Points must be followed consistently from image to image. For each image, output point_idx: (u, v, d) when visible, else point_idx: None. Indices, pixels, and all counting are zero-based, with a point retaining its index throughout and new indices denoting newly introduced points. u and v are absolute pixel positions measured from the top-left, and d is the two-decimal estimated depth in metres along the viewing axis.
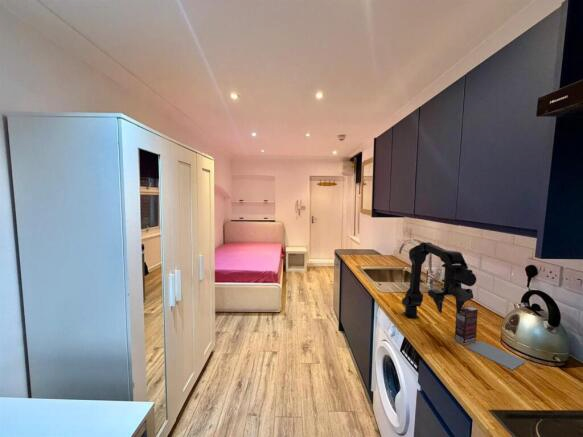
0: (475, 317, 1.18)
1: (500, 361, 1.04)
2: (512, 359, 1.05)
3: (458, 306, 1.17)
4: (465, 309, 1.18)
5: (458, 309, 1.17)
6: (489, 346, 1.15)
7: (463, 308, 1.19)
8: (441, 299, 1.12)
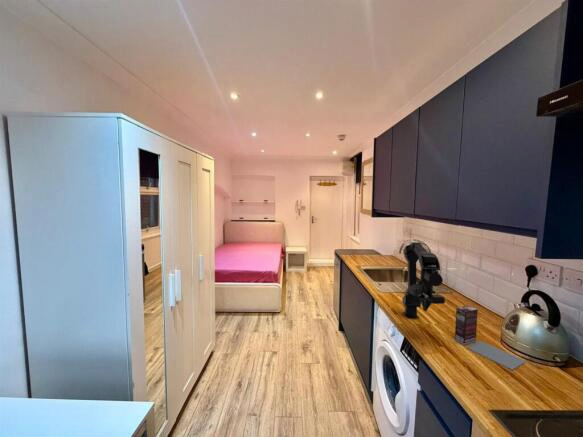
0: (475, 317, 1.18)
1: (500, 361, 1.04)
2: (512, 359, 1.05)
3: None
4: (465, 309, 1.18)
5: None
6: (489, 346, 1.15)
7: (463, 308, 1.19)
8: None
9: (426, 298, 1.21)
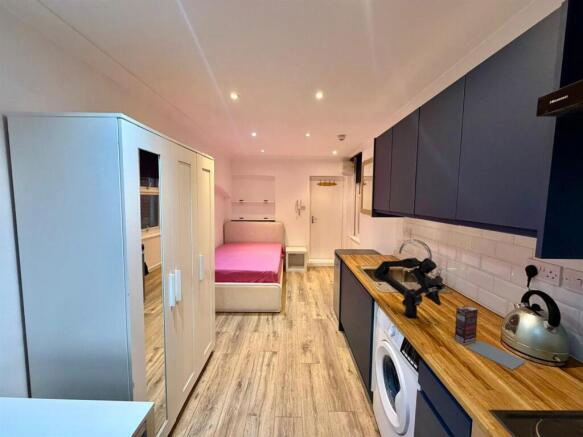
0: (475, 317, 1.18)
1: (500, 361, 1.04)
2: (512, 359, 1.05)
3: None
4: (465, 309, 1.18)
5: None
6: (489, 346, 1.15)
7: (463, 308, 1.19)
8: (427, 291, 1.29)
9: (436, 290, 1.35)
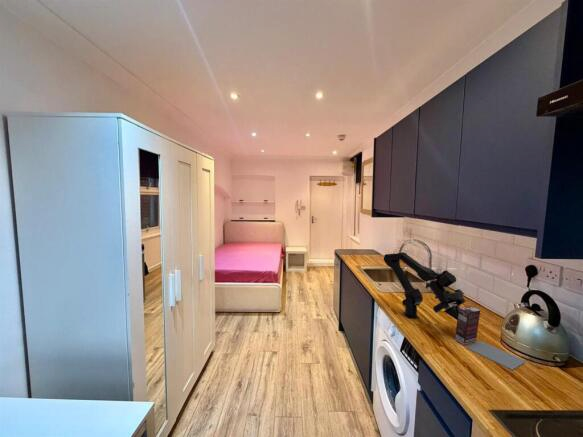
0: (477, 318, 1.17)
1: (500, 361, 1.04)
2: (512, 359, 1.05)
3: None
4: (467, 310, 1.16)
5: None
6: (489, 346, 1.15)
7: (466, 309, 1.18)
8: (447, 306, 1.20)
9: (456, 305, 1.26)
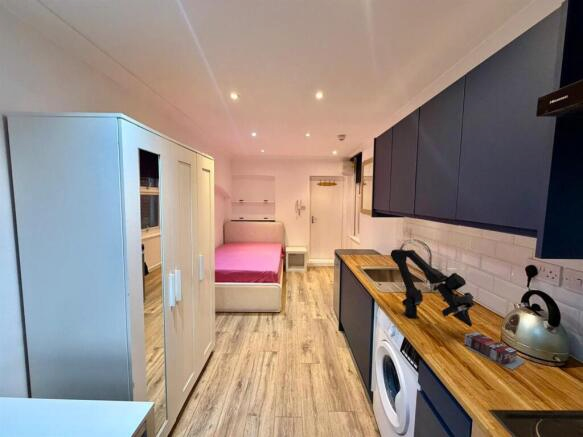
0: None
1: None
2: None
3: None
4: (506, 360, 1.02)
5: None
6: None
7: (507, 357, 1.02)
8: (456, 310, 1.17)
9: (465, 309, 1.22)
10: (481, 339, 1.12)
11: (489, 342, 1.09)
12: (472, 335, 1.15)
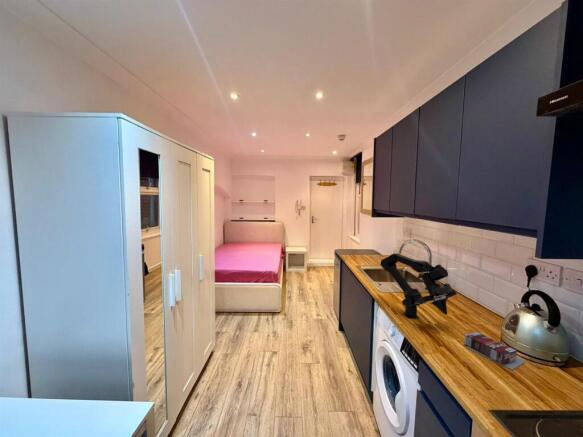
0: None
1: None
2: None
3: None
4: (506, 360, 1.02)
5: None
6: None
7: (507, 357, 1.02)
8: (430, 300, 1.26)
9: None
10: (481, 339, 1.12)
11: (489, 342, 1.09)
12: (472, 335, 1.15)
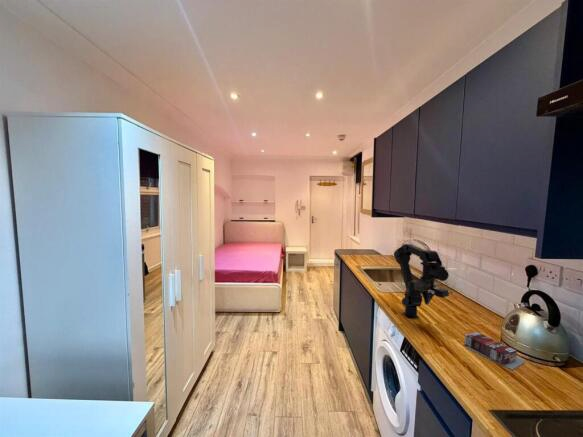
0: None
1: None
2: None
3: None
4: (506, 360, 1.02)
5: None
6: None
7: (507, 357, 1.02)
8: (412, 287, 1.36)
9: (430, 293, 1.29)
10: (481, 339, 1.12)
11: (489, 342, 1.09)
12: (472, 335, 1.15)
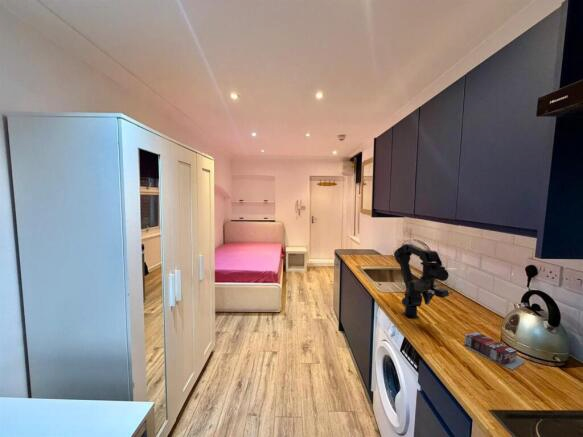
0: None
1: None
2: None
3: None
4: (506, 360, 1.02)
5: None
6: None
7: (507, 357, 1.02)
8: (412, 287, 1.36)
9: (430, 293, 1.29)
10: (481, 339, 1.12)
11: (489, 342, 1.09)
12: (472, 335, 1.15)
